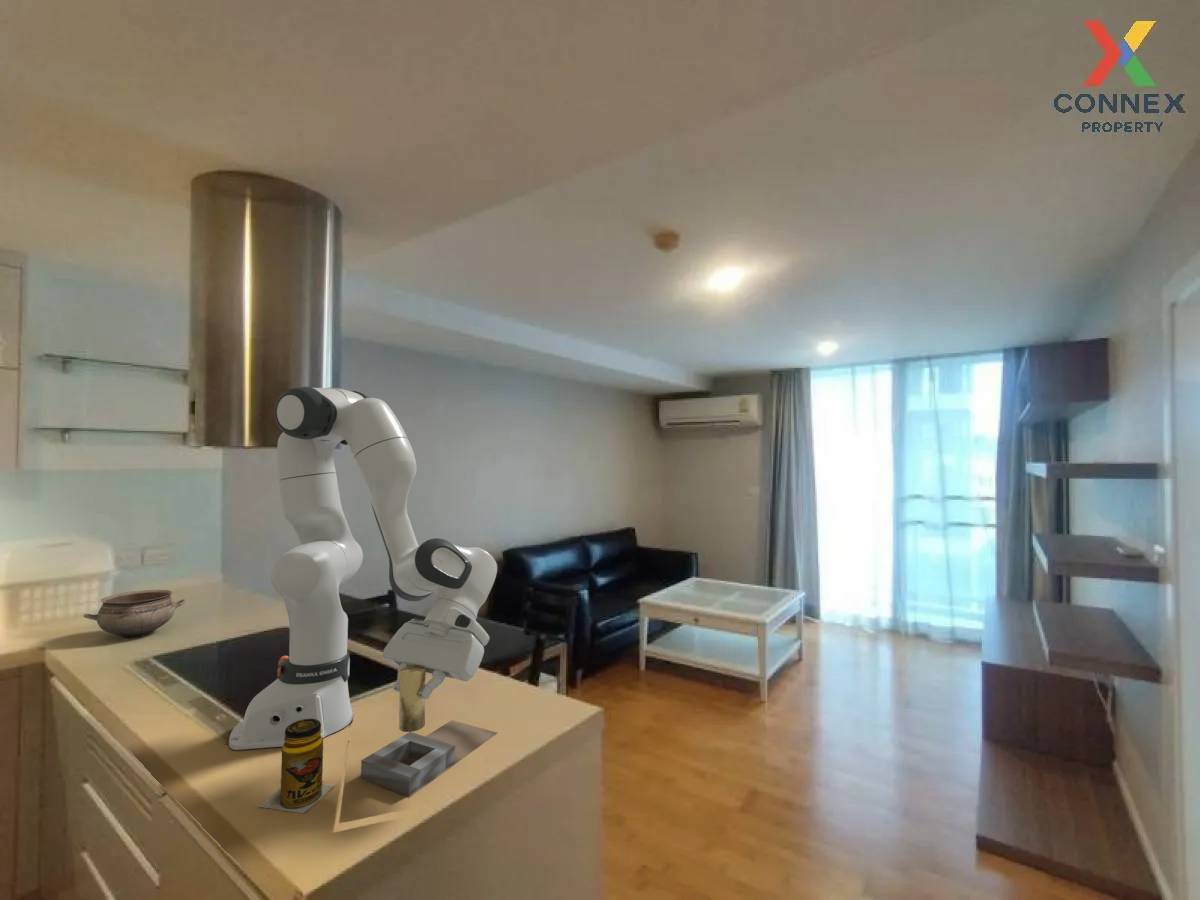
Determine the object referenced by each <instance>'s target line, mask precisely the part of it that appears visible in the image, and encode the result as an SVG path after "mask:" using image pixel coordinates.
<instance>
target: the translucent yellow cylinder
mask: <svg viewBox="0 0 1200 900" xmlns="http://www.w3.org/2000/svg"><path fill="white" fill-rule="evenodd" d="M421 685H426V672H425V667H422V666H417V665H411V666H406V667H404V668H402V669H400V681H399V692H398V693H399V694H398V696H399V697H398V698H399V700H398V701H399V703H398V706H399V707H398V709H399V710H398V717H399V718H398V729H399V731H401V732H403V733H405V732H406V733H409V732H412V733H414V732H416V731H419V730H421V729H423V728H424V727H425V725H426V699H424V698H420V696H418V695H417V692H418V690H420V687H421Z"/></svg>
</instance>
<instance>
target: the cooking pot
mask: <svg viewBox="0 0 1200 900" xmlns="http://www.w3.org/2000/svg"><path fill="white" fill-rule="evenodd" d="M171 595H173V591H172V590H168V589H147V590H137V591H135V590H134V591H128V592H123V593H117V594H113V595H112V594H111V595H109V596H108V595H107V596H106V597H103V598H101V599H100V602H101V603H102V604H101V606H100V608H99V610H98V613H97V614H95V613H94V614H91V613H84V614H83V618H86V619H88V620H93V621H96V623H97V625H98V627H99V628H100V629H101V630H103V631H105V632H107V633H109V634H112V635H116V636H118V637H122V638H125V639H126V638H127V639H130V638H138V637H139V638H140V637H143V636H144V637H145V636H147V635H150V634H151V633H152V632H154V631H156V630H157V629H160V627H161V628H162V626H164V625H166V624H167V623H168V622H169V621H170V620H171V619H172V617H173V616H174V613H175V611H176V609H178V608H179V607H181V606H182V605H184V604H185V603H186V602H187V600H186V599H180V600H177V601H174V600H173V597H172V596H171Z"/></svg>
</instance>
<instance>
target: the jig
mask: <svg viewBox="0 0 1200 900" xmlns="http://www.w3.org/2000/svg"><path fill="white" fill-rule="evenodd" d="M497 734H498V732H495V731H492V730H489V729H485V728H482V727H478V726H474V725H470V724H467V723H465V722H460V721H457V720H453V719H451V720H450V721H448V722H446V723H444V724H443V725H442V726H439V727H438V728H436V729H435V730H433V731H431V732H430V733H428V734H427V735H422V734H418V733H415V732H406V733H405V734H404V735H402V736H400V737H399V738H397V739H396V740H394V741H392V742H390V743H388V744H386V745H384V746H383V747H381V748H379V749H378V750H376V751H374V752H373V753H371V754H369V755H368V756H366V757H365V758H363V759H361V760H360V761H361V762H360V764H361V765H360V776H359V777H358V778H356V779H358V780H360V781H363V782H366V783H369V784H370V785H372V786H376V787H379V788H382V789H385V791H386V790H387V791H389V792H392V793H395V794H397V795H400V796H403V797H405V798H407V799H410V798H412V797H413V796H414V795H415V794H416V793H418V792H420V791H421V790H422V789H423V788H425V787H426V786H427V785H429V784H430V783H432V782H433V781H434V780H436V779H437V778H438V777H440V776H441V775H443V774H444V773H445V772H447V771H448V770H449V769H451V768H452V767H453V766H455V765H456V764H458V763H459V762H461V761H462V760H463V759H464V758H466V757H467V756H468V755H470V754H471V753H473V752H474V751H475V750H477V749H478V748H479V747H481V746H482V745H483V744H486V742H488V741H489V740H491V738H493V737H494V736H496V735H497Z"/></svg>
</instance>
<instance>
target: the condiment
mask: <svg viewBox="0 0 1200 900" xmlns="http://www.w3.org/2000/svg"><path fill="white" fill-rule="evenodd" d="M284 741H285V743H284V744H283V746H281V747H282V748H281V767H280V769H281V770H280V775H281V777H280V789H278V790H277V791H276V792H274V793H273V794H272V795H271V796H270V797H268V798H267V799H266V800H265V801H263V802H262V803H260V804H259V805H258V806H257V808H264V809H273V810H274V809H275V810H279V811H282V812H283V811H284V812H292V813H298V814H299V813H301V814H304V813H306V812H307V811H308V810H310V809H311V808H312V807H313V806H315V804H316V803H318V802H319V801H320V800H321V799H322V798H323V797H324V796H325V795H326V794H328V792H329V791H330V790H331V789H332V788H334V787H335V785H334V784H324V783H323V774H324V773H323V770H324V768H323V766H324V764H323V762H324V761H323V759H324V754H323V753H324V738H322V736H321V723H320V721H318V720H316V719H303V720H299V721H296V722H294V723H292V724H290V725H289V726H288V727H287V728H286V730H285V738H284Z"/></svg>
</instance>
